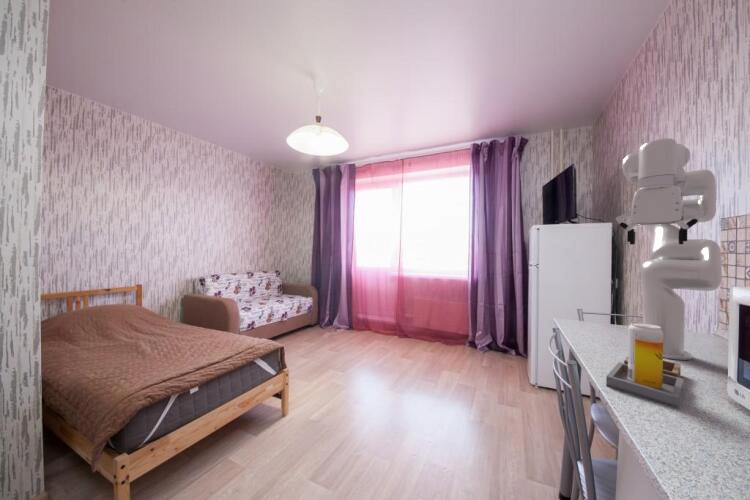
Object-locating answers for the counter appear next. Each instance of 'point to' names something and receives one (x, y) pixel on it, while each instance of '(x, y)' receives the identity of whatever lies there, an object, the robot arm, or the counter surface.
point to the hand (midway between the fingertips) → (655, 244)
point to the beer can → (645, 355)
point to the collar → (667, 368)
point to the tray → (665, 394)
